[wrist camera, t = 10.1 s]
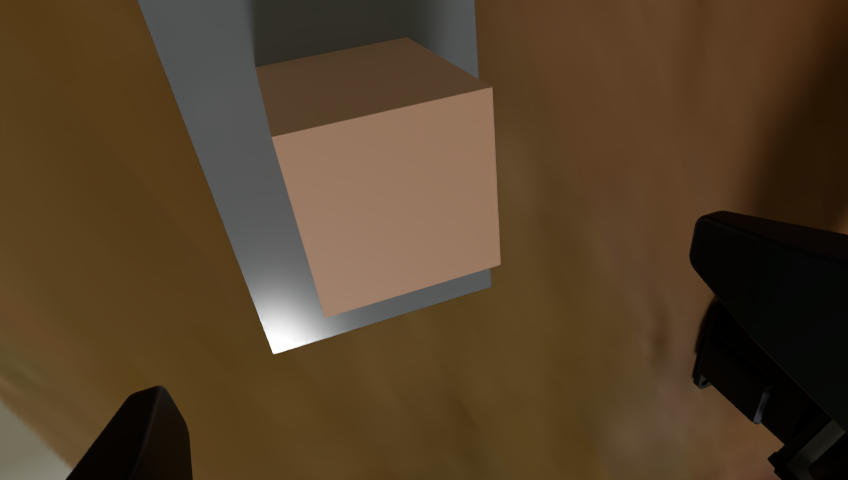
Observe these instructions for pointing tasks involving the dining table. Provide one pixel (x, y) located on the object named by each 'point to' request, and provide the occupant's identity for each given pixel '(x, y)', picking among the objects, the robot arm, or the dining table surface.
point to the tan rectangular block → (385, 168)
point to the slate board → (252, 143)
